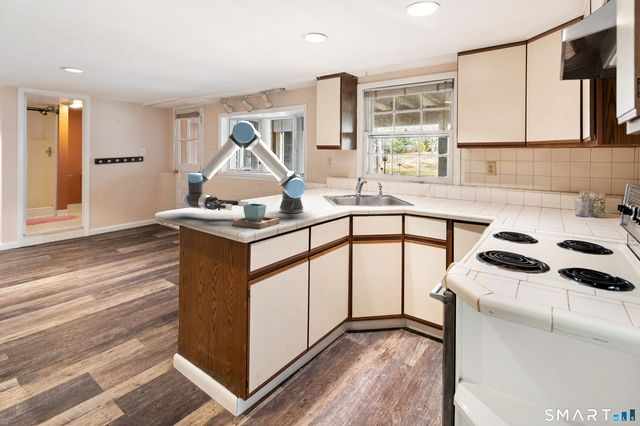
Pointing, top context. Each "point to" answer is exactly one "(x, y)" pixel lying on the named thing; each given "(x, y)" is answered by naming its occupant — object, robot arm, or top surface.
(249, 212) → the flower pot
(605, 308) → the top surface
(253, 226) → the walnut tray
